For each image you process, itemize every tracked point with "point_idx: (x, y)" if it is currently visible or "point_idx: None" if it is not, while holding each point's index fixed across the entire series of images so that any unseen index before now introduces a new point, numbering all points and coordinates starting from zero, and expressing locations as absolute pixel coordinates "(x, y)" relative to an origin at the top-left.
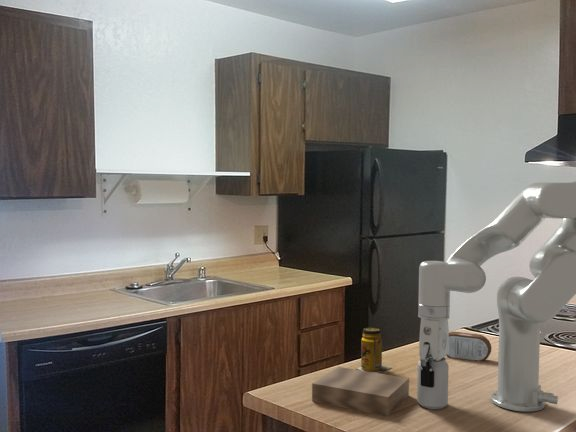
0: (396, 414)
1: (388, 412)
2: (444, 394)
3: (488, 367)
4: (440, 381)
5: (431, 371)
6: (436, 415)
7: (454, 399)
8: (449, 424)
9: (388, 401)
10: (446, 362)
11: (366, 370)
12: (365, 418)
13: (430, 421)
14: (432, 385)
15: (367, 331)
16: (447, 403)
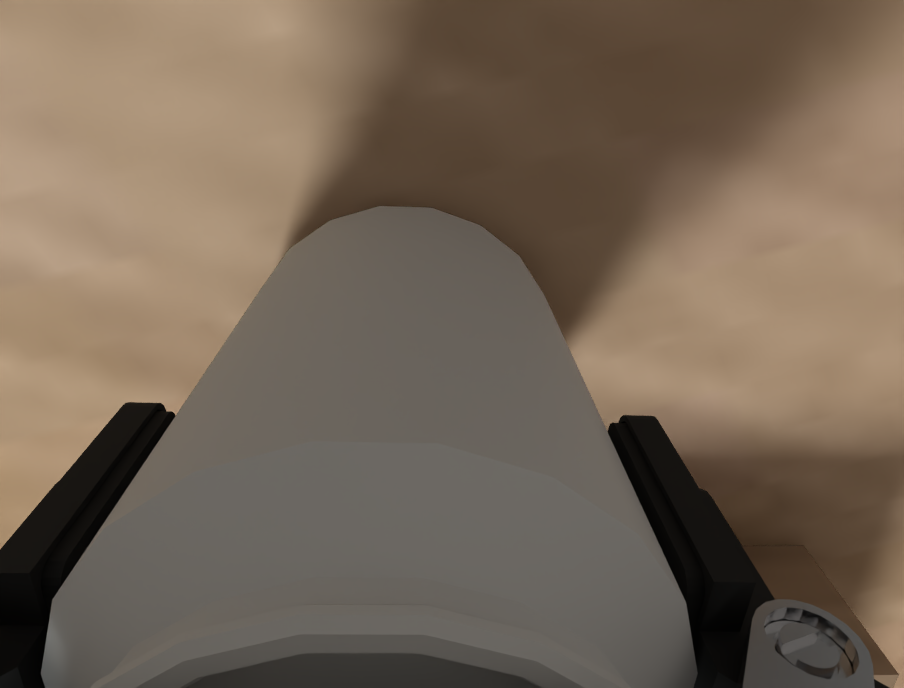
0: (748, 510)
1: (801, 563)
2: (478, 259)
3: None
4: (571, 380)
5: (833, 616)
6: (656, 238)
7: (111, 187)
8: (855, 64)
9: (861, 636)
10: (207, 541)
11: None
12: (885, 635)
13: (824, 249)
14: (659, 437)
15: None
16: (392, 207)
